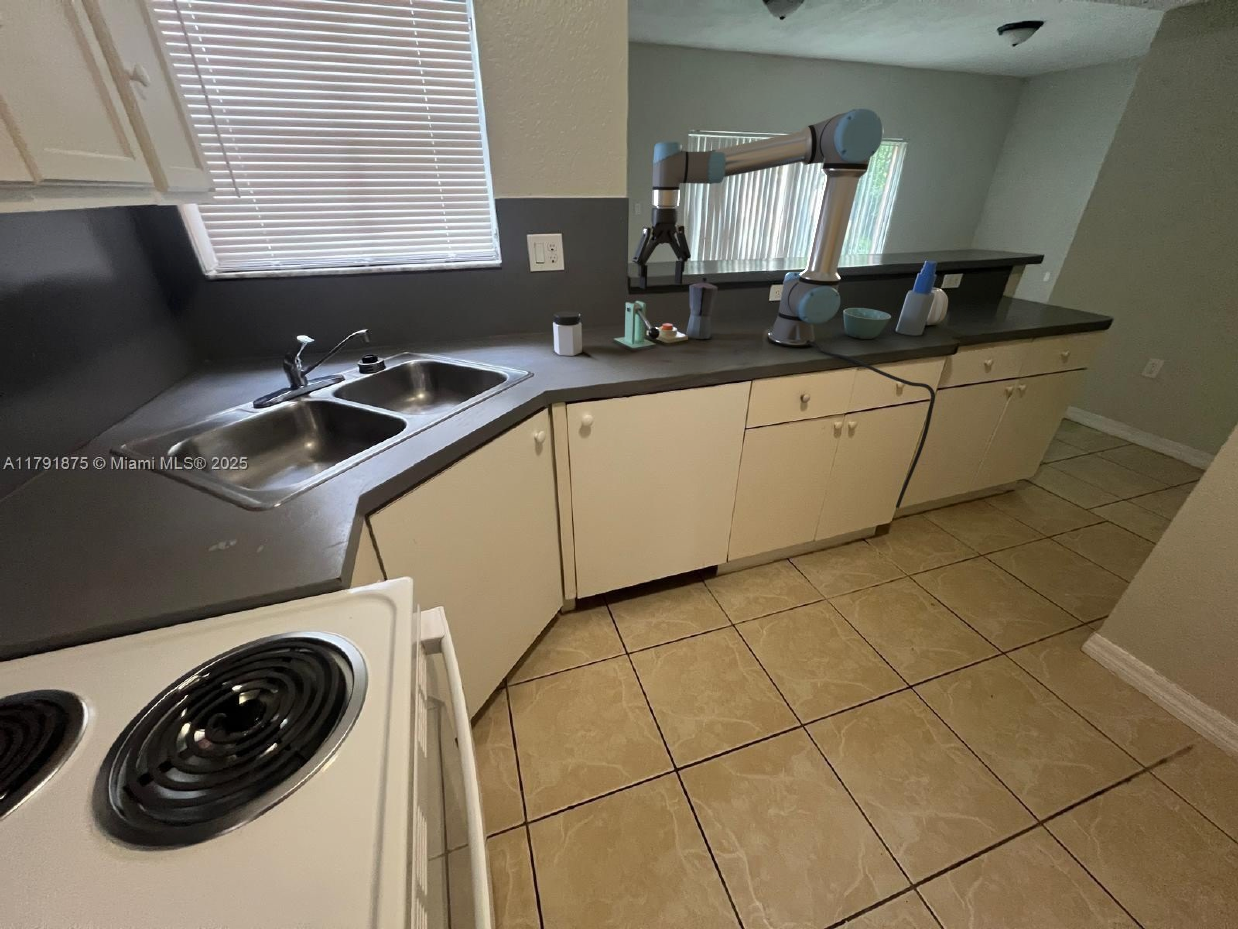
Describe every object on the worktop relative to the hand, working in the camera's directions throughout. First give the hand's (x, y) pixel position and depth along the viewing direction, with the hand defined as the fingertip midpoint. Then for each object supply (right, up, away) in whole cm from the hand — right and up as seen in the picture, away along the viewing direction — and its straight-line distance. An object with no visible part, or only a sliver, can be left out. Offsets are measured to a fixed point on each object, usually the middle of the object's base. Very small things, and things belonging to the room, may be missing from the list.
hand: (660, 285), depth 148 cm
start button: (+4, -8, +19) cm, 21 cm away
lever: (-5, -10, +8) cm, 14 cm away
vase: (+110, +2, +48) cm, 119 cm away
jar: (-29, -19, +8) cm, 35 cm away
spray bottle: (+97, -5, +35) cm, 103 cm away
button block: (+4, -11, +21) cm, 24 cm away
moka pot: (+16, -9, +25) cm, 31 cm away
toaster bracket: (-8, -14, +16) cm, 22 cm away
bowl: (+76, -8, +30) cm, 82 cm away
